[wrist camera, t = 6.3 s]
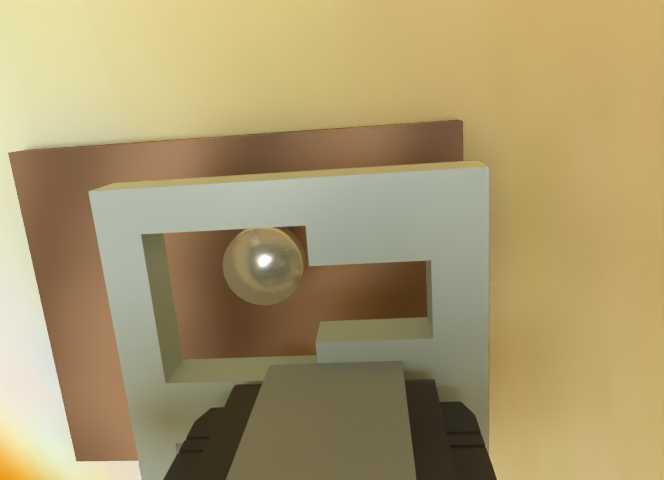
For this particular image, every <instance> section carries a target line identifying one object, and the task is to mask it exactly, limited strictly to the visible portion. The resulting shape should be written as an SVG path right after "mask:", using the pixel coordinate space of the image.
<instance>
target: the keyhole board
mask: <svg viewBox="0 0 664 480" xmlns="http://www.w3.org/2000/svg"><path fill="white" fill-rule="evenodd" d="M8 154H9V158H10V163H11V167H12V172H13V177H14V181H15V186H16V190H17V195H18V199H19V204H20V208H21V213H22V217H23V222H24V226H25V231H26V235H27V240H28V244H29V249H30V253H31V258H32V262H33V267H34V271H35V276H36V280H37V285H38V289H39V294H40V298H41V303H42V307H43V312H44V316H45V321H46V325H47V330H48V335H49V339H50V344H51V348H52V353H53V357H54V362H55V366H56V371H57V375H58V380H59V384H60V389H61V393H62V398H63V402H64V407H65V411H66V416H67V420H68V425H69V429H70V434H71V438H72V443H73V447H74V452H75V456H76V461H134V460H138V456H137V450H136V445H135V439H134V434H133V429H132V423H131V418H130V413H129V407H128V402H127V397H126V391H125V386H124V380H123V375H122V370H121V364H120V359H119V354H118V348H117V343H116V337H115V332H114V327H113V321H112V316H111V311H110V305H109V300H108V295H107V289H106V284H105V278H104V273H103V268H102V262H101V257H100V252H99V246H98V241H97V235H96V230H95V225H94V219H93V214H92V209H91V203H90V198H89V192H88V191H91V190H94V189H97V188H100V187H103V186H107V185H110V184H113V183H122V182H138V181H154V180H170V179H186V178H202V177H218V176H234V175H250V174H266V173H282V172H298V171H314V170H330V169H346V168H362V167H377V166H393V165H409V164H425V163H441V162H457V161H463V121H460V120H449V121H434V122H420V123H406V124H392V125H377V126H363V127H349V128H335V129H320V130H306V131H292V132H278V133H263V134H249V135H235V136H220V137H206V138H192V139H178V140H163V141H149V142H135V143H121V144H106V145H92V146H78V147H64V148H49V149H35V150H24V151H17V152H11V153H8ZM292 227H293V228H294V229H295V231H296V234H297V238H298V240H299V241H300V243H301V245H302V247H303V250H304V253H305V268H304V272H303V274H302V277H301V279H300V282H299V284H298V286H297V288H296V290H295V291H294V292H293V293H292V294H291V295H290V296H289V297H288V298H286V299H285V300H283V301H281V302H279V303H276V304H272V305H256V304H252V303H250V302H247V301H245V300H243V299H242V298H240V297H239V296H237V295H236V294H235V293H234V292H233V291H232V289H231V288H230V287H229V285H228V283H227V281H226V279H225V276H224V273H223V257H224V254H225V251H226V249H227V247H228V245H229V244H230V243H231V241H232V240H233V239H234V238H235V237H236V236H237V235H238V234H239V233H240V232H241V231H243V230H244V229H231V230H213V231H194V232H176V233H163V234H164V240H165V247H166V253H167V260H168V266H169V273H170V279H171V286H172V292H173V299H174V305H175V312H176V318H177V325H178V331H179V338H180V344H181V351H182V357H183V360H186V359H216V358H246V357H276V356H306V355H317V353H316V339H317V334H318V330H319V325H320V321H344V320H370V319H396V318H422V317H427V282H426V261H407V262H386V263H365V264H344V265H323V266H309V260H308V248H307V236H306V225H305V226H292Z"/></svg>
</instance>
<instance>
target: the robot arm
mask: <svg viewBox="0 0 664 480" xmlns="http://www.w3.org/2000/svg"><path fill="white" fill-rule="evenodd" d="M404 382H405V390H406V398H407V406H408V414H409V423H410V431H411V439H412V447H413V455H414V464H415V472H416V480H497V479H496V476H495V473H494V470H493V467H492V464H491V461H490V458H489V455H488V452H487V449H486V448H485V443H484V440H483V437H482V434H481V431H480V428H479V425H478V422H477V419H476V416H475V414H474V413H473V412H472V411H470V410H469V409H468V408H467V407H466V406H465V405H464V404H463V403H462V402H461V401H459V402H440V401H439V396H438V392H437V388H436V383H435V380H434V379H417V380H404ZM261 386H262V384H237V385H235V386H234V387H233V389H232V391H231V393H230V395H229V397H228V400H227V402H226V404H225V406H224V407H214V408H210V409H209V410H208V411H207V412H205V413H204V414H203V415H202V416H201V417H199V418H198V419H197V420H196V421H195V422H194V424H193V426H192V427H191V429H190V431H189V433H188V435H187V437H186V440H184V442H183V444H182V446H181V448H180V450H179V454H177V455H176V457H175V459H174V461H173V462H172V464H171V466H170V468H169V470H168V472H167V473H166V475H165V477H164V479H163V480H226V478H227V475H228V473H229V470H230V467H231V465H232V462H233V459H234V457H235V454H236V452H237V449H238V446H239V444H240V441H241V438H242V436H243V433H244V430H245V428H246V425H247V423H248V420H249V417H250V415H251V412H252V409H253V407H254V404H255V401H256V399H257V396H258V393H259V391H260V388H261Z"/></svg>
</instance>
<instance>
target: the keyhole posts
mask: <svg viewBox="0 0 664 480" xmlns="http://www.w3.org/2000/svg"><path fill="white" fill-rule="evenodd" d="M304 268H305V253H304V250H303V247H302V245H301V243H300V241H299V240H298V238H297V234H296V231H295V229H294V228H293V227H292V226H287V227H268V228H250V229H244V230H243V231H241V232H240V233H239V234H238V235H237V236H236V237H235V238H234V239H233V240H232V241H231V243H230V244H229V245H228V247H227V249H226V251H225V254H224V257H223V273H224V276H225V279H226V281H227V283H228V285H229V287H230V288H231V289H232V291H233V292H234V293H235V294H236V295H237V296H239V297H240V298H242V299H243V300H245V301H247V302H250V303H252V304H256V305H272V304H276V303H279V302H281V301H283V300H285V299H286V298H288V297H289V296H290V295H291V294H292V293H293V292H294V291H295V290H296V288H297V286H298V284H299V282H300V279H301V277H302V274H303V272H304Z"/></svg>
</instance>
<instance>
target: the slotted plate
mask: <svg viewBox="0 0 664 480" xmlns="http://www.w3.org/2000/svg"><path fill="white" fill-rule="evenodd" d="M88 192H89V198H90V203H91V209H92V214H93V219H94V225H95V230H96V235H97V241H98V246H99V252H100V257H101V262H102V268H103V273H104V278H105V284H106V289H107V295H108V300H109V305H110V311H111V316H112V321H113V327H114V332H115V337H116V343H117V348H118V354H119V359H120V364H121V370H122V375H123V380H124V386H125V391H126V397H127V402H128V407H129V413H130V418H131V423H132V429H133V434H134V439H135V445H136V450H137V456H138V461H139V466H140V472H141V477H142V480H163V479H164V477H165V475H166V473H167V472H168V470H169V468H170V466H171V464H172V462H173V461H174V459H175V457H176V455H177V454H179V450H180V448H181V446H182V444H183V442H184V440H186V437H187V435H188V433H189V431H190V429H191V427H192V426H193V424H194V422H195V421H196V420H197V419H198V418H199V417H201V416H202V415H203V414H204V413H205V412H207V411H208V410H209V409H210V408H214V407H224V406H225V404H226V402H227V400H228V397H229V395H230V393H231V391H232V389H233V387H234V386H235V385H237V384H262V386H261V388H260V391H259V393H258V396H257V399H256V401H255V404H254V407H253V409H252V412H251V415H250V417H249V420H248V423H247V425H246V428H245V430H244V433H243V436H242V438H241V441H240V444H239V446H238V449H237V452H236V454H235V457H234V459H233V462H232V465H231V467H230V470H229V473H228V475H227V478H226V480H416V472H415V464H414V455H413V447H412V439H411V431H410V423H409V414H408V406H407V398H406V390H405V382H404V380H417V379H434V380H435V383H436V388H437V392H438V396H439V401H440V402H459V401H461V402H462V403H463V404H464V405H465V406H466V407H467V408H468V409H469V410H470V411H472V412H473V413H474V414H475V416H476V419H477V422H478V425H479V428H480V431H481V434H482V437H483V440H484V443H485V448H486V449H487V452H488V455H489V166H487V165H485V164H483V163H482V162H480V161H478V160H473V161H457V162H441V163H425V164H409V165H393V166H377V167H362V168H346V169H330V170H314V171H298V172H282V173H266V174H250V175H234V176H218V177H202V178H186V179H170V180H154V181H138V182H122V183H113V184H110V185H107V186H103V187H100V188H97V189H94V190H91V191H88ZM305 225H306V236H307V248H308V260H309V266H323V265H344V264H365V263H386V262H407V261H426V282H427V317H422V318H396V319H370V320H344V321H320V325H319V330H318V334H317V339H316V353H317V355H306V356H276V357H246V358H216V359H186V360H183V357H182V351H181V344H180V338H179V331H178V325H177V318H176V312H175V305H174V299H173V292H172V286H171V279H170V273H169V266H168V260H167V253H166V247H165V240H164V234H163V233H176V232H194V231H213V230H231V229H250V228H268V227H287V226H305Z"/></svg>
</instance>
